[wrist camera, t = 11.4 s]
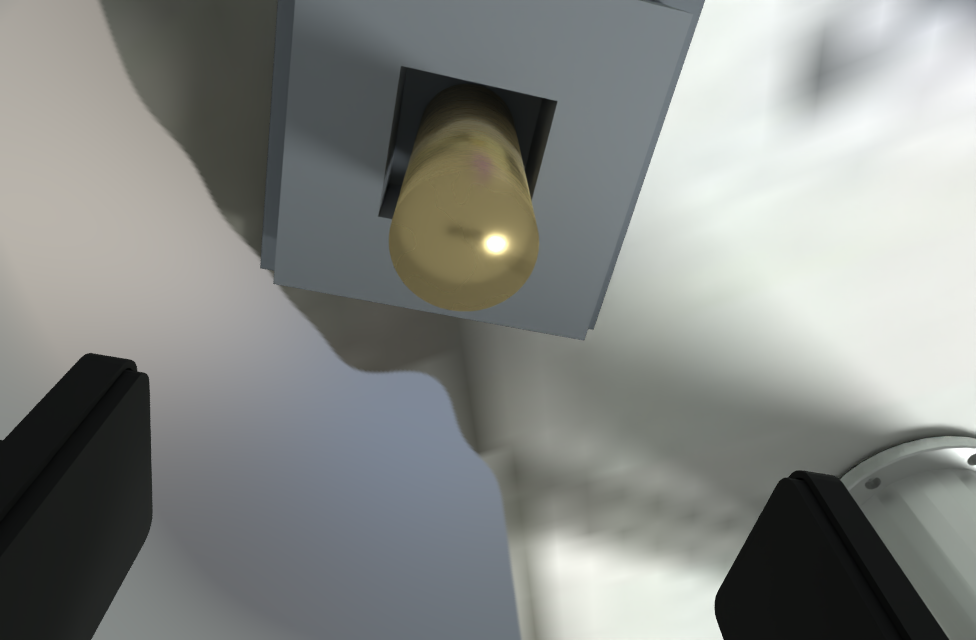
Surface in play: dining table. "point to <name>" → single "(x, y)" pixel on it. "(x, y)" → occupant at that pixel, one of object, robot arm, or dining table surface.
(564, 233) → the socket fitting
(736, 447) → the dining table surface
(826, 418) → the dining table surface
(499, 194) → the pipe stub
